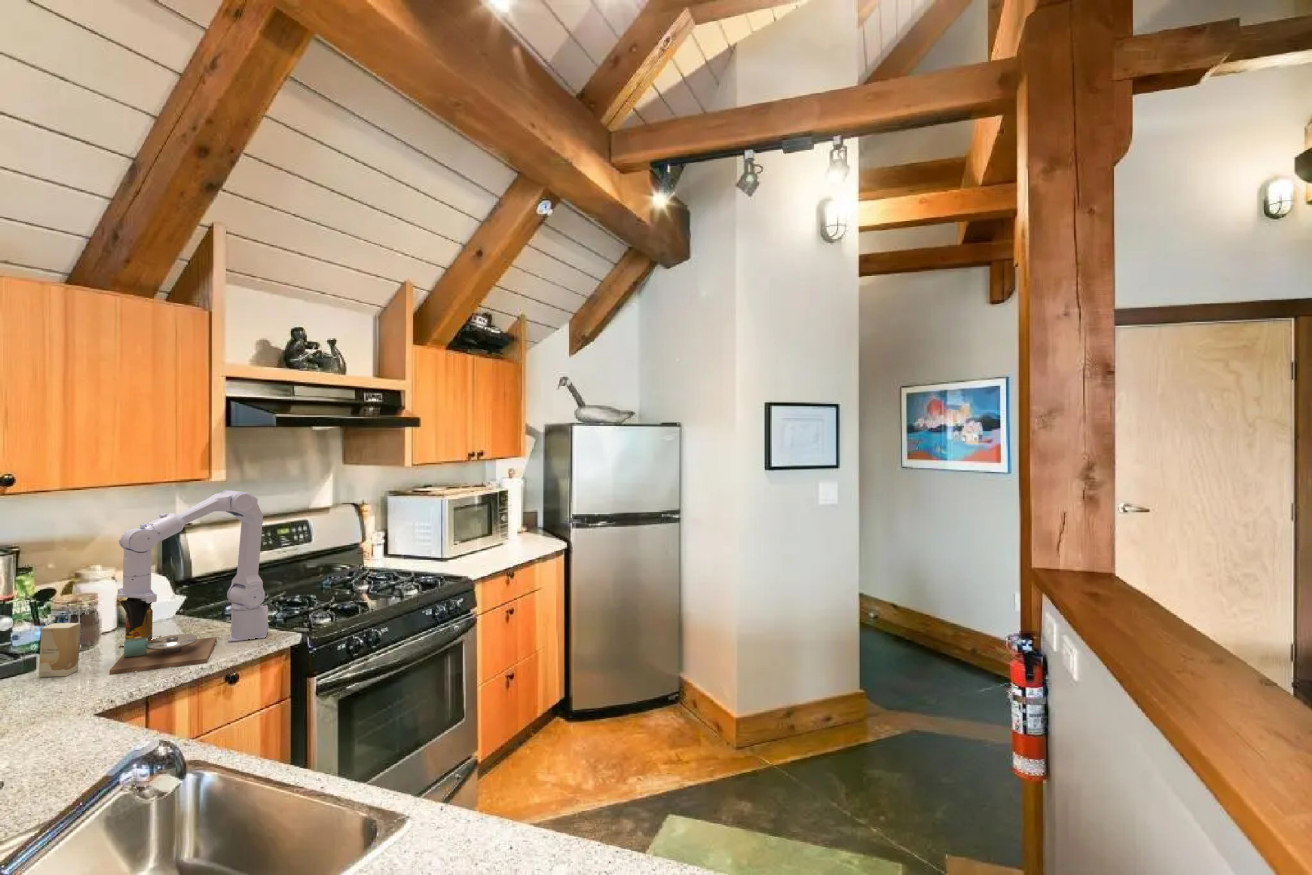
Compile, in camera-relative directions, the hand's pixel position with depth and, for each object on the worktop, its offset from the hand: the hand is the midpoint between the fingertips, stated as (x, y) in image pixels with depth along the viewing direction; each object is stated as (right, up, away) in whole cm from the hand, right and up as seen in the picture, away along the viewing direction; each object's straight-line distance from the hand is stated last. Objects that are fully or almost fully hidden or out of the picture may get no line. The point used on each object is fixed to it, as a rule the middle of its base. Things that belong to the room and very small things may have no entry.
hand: (136, 626), depth 167 cm
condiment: (-13, -10, +17) cm, 24 cm away
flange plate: (+2, -8, +5) cm, 10 cm away
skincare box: (-13, -10, -8) cm, 18 cm away
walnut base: (+4, -10, +6) cm, 13 cm away
